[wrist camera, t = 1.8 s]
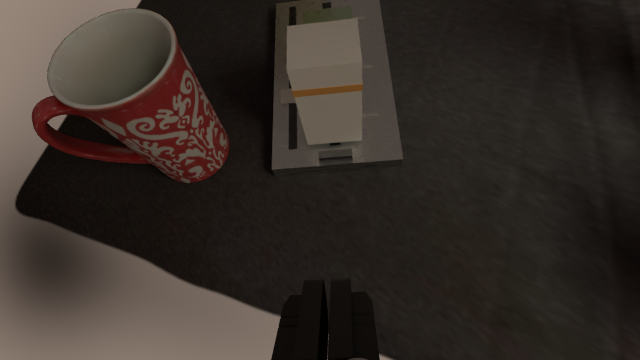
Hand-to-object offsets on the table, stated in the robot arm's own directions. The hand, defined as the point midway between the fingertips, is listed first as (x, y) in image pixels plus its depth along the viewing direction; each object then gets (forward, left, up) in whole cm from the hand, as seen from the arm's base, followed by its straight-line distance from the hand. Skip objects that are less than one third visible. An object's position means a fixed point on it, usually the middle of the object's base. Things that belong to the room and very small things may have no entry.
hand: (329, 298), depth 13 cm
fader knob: (0, -17, -14) cm, 22 cm away
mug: (+16, -16, -16) cm, 28 cm away
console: (0, -24, -16) cm, 29 cm away
